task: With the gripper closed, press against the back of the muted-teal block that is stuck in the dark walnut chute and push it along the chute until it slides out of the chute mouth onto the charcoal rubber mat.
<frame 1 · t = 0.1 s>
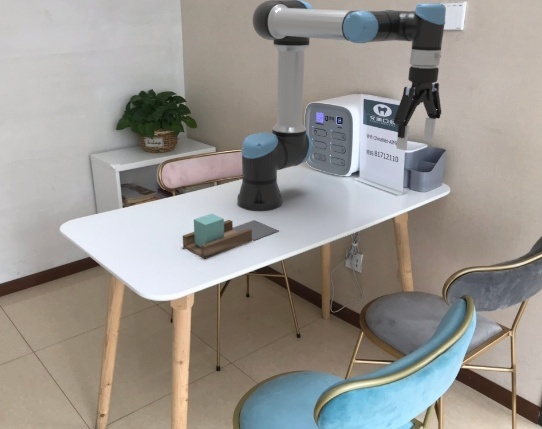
hand: (415, 145, 149), 28 cm above the table, fingers open, 13 cm apart
mat: (254, 230, 162), on the table
chute: (218, 243, 153), on the table
block: (209, 231, 149), point 5 cm above the table, slide at 0.0 cm
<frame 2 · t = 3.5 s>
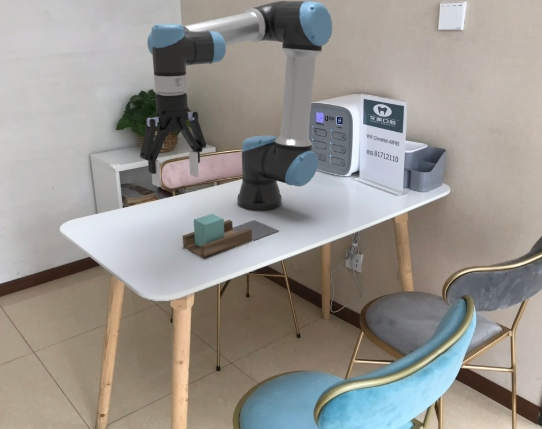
hand: (176, 180, 136), 22 cm above the table, fingers open, 11 cm apart
nothing on the table moved.
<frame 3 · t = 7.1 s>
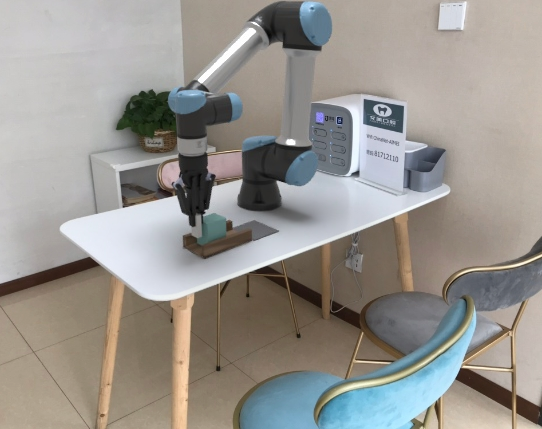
hand: (196, 235, 147), 5 cm above the table, fingers closed
block: (211, 230, 150), point 5 cm above the table, slide at 0.8 cm, touching gripper
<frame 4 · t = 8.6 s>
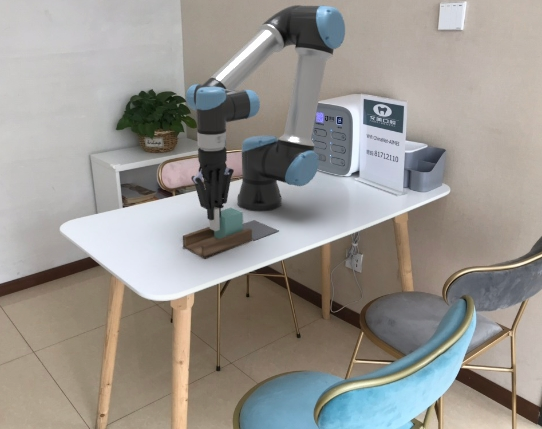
hand: (214, 229, 151), 5 cm above the table, fingers closed
block: (228, 224, 154), point 5 cm above the table, slide at 6.9 cm, touching gripper
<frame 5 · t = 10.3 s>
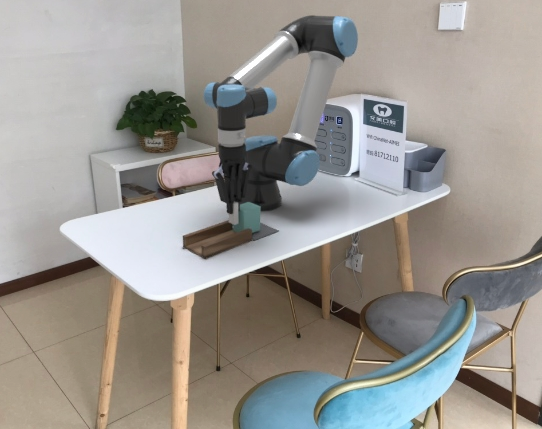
hand: (233, 222, 155), 5 cm above the table, fingers closed
block: (246, 218, 158), point 5 cm above the table, slide at 13.9 cm, touching gripper
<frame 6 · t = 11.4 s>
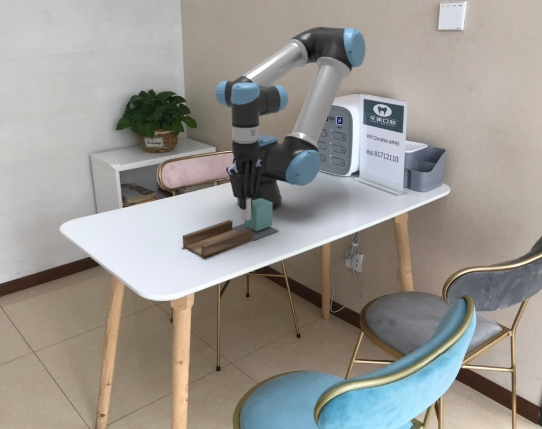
hand: (246, 218, 158), 5 cm above the table, fingers closed
block: (258, 214, 162), point 5 cm above the table, slide at 18.8 cm, touching gripper
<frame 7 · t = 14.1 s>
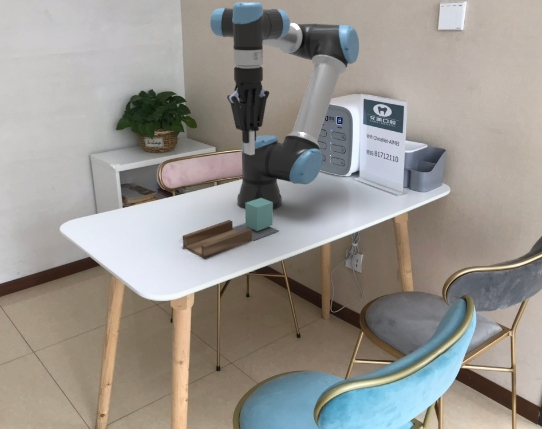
hand: (249, 153, 149), 25 cm above the table, fingers closed
block: (259, 214, 162), point 5 cm above the table, slide at 18.9 cm
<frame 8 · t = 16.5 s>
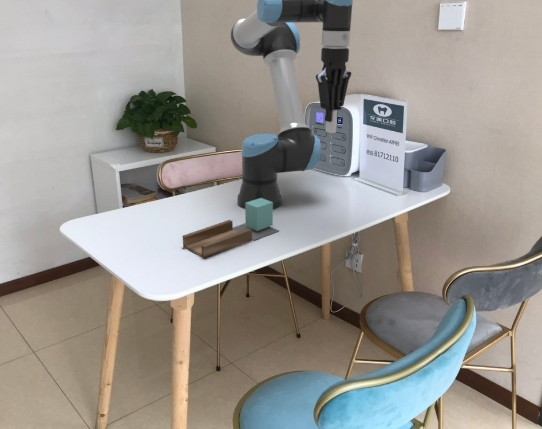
hand: (330, 132, 155), 29 cm above the table, fingers closed
nothing on the table moved.
at the end: block slide at 18.9 cm; block inside the target area (0.4 cm from its centre), resting on mat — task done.
